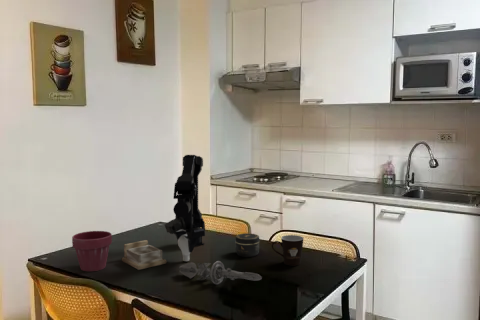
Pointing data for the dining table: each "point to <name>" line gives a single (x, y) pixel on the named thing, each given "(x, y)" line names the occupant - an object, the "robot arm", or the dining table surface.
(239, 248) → the jar
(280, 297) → the dining table surface
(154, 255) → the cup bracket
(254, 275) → the spaceship
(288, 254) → the coffee mug
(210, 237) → the dining table surface
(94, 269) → the plant pot
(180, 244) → the lightbulb
